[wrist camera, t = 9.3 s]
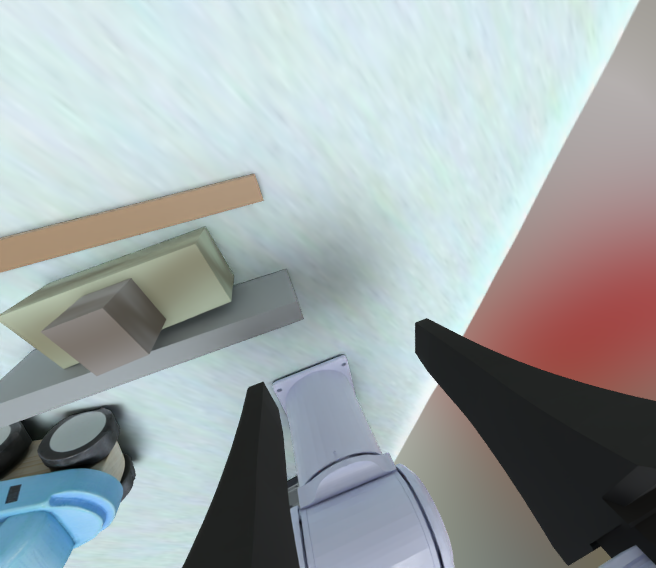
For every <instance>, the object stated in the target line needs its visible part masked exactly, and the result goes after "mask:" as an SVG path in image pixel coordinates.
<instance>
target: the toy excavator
mask: <svg viewBox="0 0 656 568" xmlns="http://www.w3.org/2000/svg"><path fill="white" fill-rule="evenodd" d="M119 431H120V428H119V426H118V424H117V422H116V420H115V417H114V415H113V413H112V412H111V411H110V410H108V409H105V408H104V407H102V408H100V409H98V410H95V411H89V412H84V413H79V414H73V415H71V416H69V417H67V418H66V419H64V420H62V421H60V422H59V423H58V424H56V425H55V426H54V427H53V428H52V429H50V430H49V432H48V433H47V434H46V435H45V436H44V437H43V439H42V440H36V441H32V439H31V437H30V436H29V435H28V433H27V431H26V429H25V428H24V426H23V424H22V423H21V421H19V422H16V423H13V424H11V425H8V426H5V427H2V428H0V568H63V567H64V565H65V563H66V561H67V559H68V557H69V555H70V553H71V551H72V549H74V548H77V547H79V546H81V545H82V544H84V543H86V542H88V541H89V540H91V539H93V538H94V537H95V536H97V535H98V533H99V532H100V531H102V530H104V529H105V528H107V527H108V526H109V525H110V524H111V522H112V521H113V519H114V518H115V515H116V513H117V510H118V507H119V504H120V502H121V501H122V500H123V499H124V498H125V497H126V495H127V494H128V493H129V492H130V490H131V488H132V486H133V481H134V480H135V476H136V474H135V469H134V466H133V463H132V459H131V458H130V457H129V455H127V454H126V453H125V454H123V453H122V451H121V449H120V446H119V444H118V442H117V439H118V436H119Z"/></svg>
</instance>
